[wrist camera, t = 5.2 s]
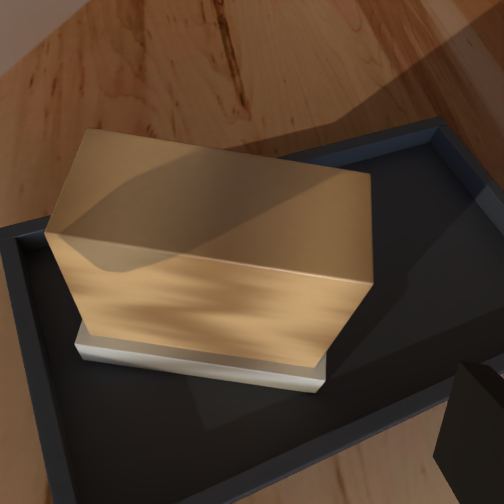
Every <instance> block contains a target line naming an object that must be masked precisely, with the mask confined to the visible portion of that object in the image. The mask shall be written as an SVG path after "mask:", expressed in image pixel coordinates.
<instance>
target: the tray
mask: <svg viewBox="0 0 504 504" xmlns="http://www.w3.org/2000/svg"><path fill="white" fill-rule="evenodd" d="M277 158H278V159H284V160H290V161H296V162H302V163H308V164H314V165H320V166H326V167H333V168H339V169H345V170H351V171H357V172H363V173H369V174H370V175H371V201H372V239H373V276H374V284H373V286H372V287H371V289H370V290H369V292H368V293H367V294H366V296H365V297H364V299H363V300H362V301H361V303H360V304H359V306H358V307H357V309H356V310H355V311H354V313H353V314H352V316H351V317H350V319H349V320H348V321H347V323H346V324H345V326H344V327H343V328H342V330H341V331H340V333H339V334H338V336H337V337H336V338H335V340H334V341H333V343H332V344H331V346H330V347H329V348H328V350H327V353H326V381H325V382H324V384H323V385H322V386H321V387H320V388H319V390H318V391H317V392H316V393H308V392H301V391H294V390H288V389H281V388H274V387H267V386H260V385H253V384H246V383H240V382H233V381H226V380H219V379H212V378H205V377H198V376H191V375H185V374H178V373H171V372H164V371H157V370H150V369H143V368H137V367H130V366H123V365H116V364H109V363H102V362H95V361H89V360H83V359H82V357H81V355H80V354H79V352H78V350H77V348H76V346H75V341H76V338H77V334H78V331H79V328H80V325H81V322H82V317H81V314H80V312H79V310H78V308H77V306H76V303H75V301H74V299H73V297H72V294H71V292H70V290H69V288H68V286H67V283H66V281H65V279H64V277H63V274H62V272H61V270H60V268H59V266H58V263H57V261H56V259H55V257H54V254H53V252H52V250H51V248H50V246H49V243H48V241H47V239H46V237H45V234H44V232H45V229H46V227H47V225H48V222H49V220H50V217H51V215H49V216H46V217H42V218H38V219H34V220H30V221H26V222H22V223H18V224H14V225H10V226H6V227H2V228H0V253H1V257H2V262H3V267H4V272H5V277H6V281H7V286H8V291H9V296H10V300H11V305H12V310H13V315H14V320H15V324H16V329H17V334H18V339H19V343H20V348H21V353H22V358H23V363H24V367H25V372H26V377H27V382H28V386H29V391H30V396H31V401H32V406H33V410H34V415H35V420H36V425H37V429H38V434H39V439H40V444H41V449H42V453H43V458H44V463H45V468H46V472H47V477H48V482H49V487H50V492H51V496H52V501H53V504H232V503H234V502H236V501H238V500H240V499H242V498H244V497H247V496H249V495H251V494H253V493H255V492H257V491H259V490H261V489H263V488H265V487H267V486H270V485H272V484H274V483H276V482H278V481H280V480H282V479H284V478H286V477H288V476H290V475H292V474H295V473H297V472H299V471H301V470H303V469H305V468H307V467H309V466H311V465H313V464H315V463H318V462H320V461H322V460H324V459H326V458H328V457H330V456H332V455H334V454H336V453H338V452H341V451H343V450H345V449H347V448H349V447H351V446H353V445H355V444H357V443H359V442H361V441H364V440H366V439H368V438H370V437H372V436H374V435H376V434H378V433H380V432H382V431H384V430H386V429H389V428H391V427H393V426H395V425H397V424H399V423H401V422H403V421H405V420H407V419H409V418H412V417H414V416H416V415H418V414H420V413H422V412H424V411H426V410H428V409H430V408H432V407H435V406H437V405H439V404H441V403H443V402H445V401H447V400H449V396H450V393H451V389H452V386H453V382H454V378H455V375H456V371H457V368H458V364H459V361H465V362H472V363H478V364H485V365H489V366H491V367H492V368H493V369H494V370H495V371H496V372H497V373H498V374H499V375H501V374H503V373H504V191H503V190H502V189H501V188H500V186H499V185H498V184H497V183H496V182H495V180H494V179H493V178H492V177H491V176H490V174H489V173H488V172H487V171H486V170H485V169H484V167H483V166H482V165H481V164H480V163H479V161H478V160H477V159H476V158H475V157H474V155H473V154H472V153H471V152H470V151H469V149H468V148H467V147H466V146H465V145H464V143H463V142H462V141H461V140H460V139H459V137H458V136H457V135H456V134H455V133H454V132H453V130H452V129H451V128H450V127H449V126H448V125H447V123H446V121H445V120H444V119H443V118H442V117H441V116H439V117H435V118H431V119H427V120H423V121H419V122H415V123H411V124H407V125H403V126H399V127H395V128H391V129H387V130H384V131H380V132H376V133H372V134H368V135H364V136H360V137H356V138H352V139H348V140H344V141H340V142H336V143H332V144H329V145H325V146H321V147H317V148H313V149H309V150H305V151H301V152H297V153H293V154H289V155H285V156H281V157H277Z"/></svg>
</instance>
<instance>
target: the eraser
mask: <svg viewBox="0 0 504 504" xmlns="http://www.w3.org/2000/svg"><path fill="white" fill-rule="evenodd" d="M44 234H45V237H46V239H47V241H48V243H49V246H50V248H51V250H52V252H53V254H54V257H55V259H56V261H57V263H58V266H59V268H60V270H61V272H62V274H63V277H64V279H65V281H66V283H67V286H68V288H69V290H70V292H71V294H72V297H73V299H74V301H75V303H76V306H77V308H78V310H79V312H80V314H81V317H82V322H81V325H80V328H79V331H78V334H77V338H76V341H75V346H76V348H77V350H78V352H79V354H80V355H81V357H82V359H83V360H89V361H95V362H102V363H109V364H116V365H123V366H130V367H137V368H143V369H150V370H157V371H164V372H171V373H178V374H185V375H191V376H198V377H205V378H212V379H219V380H226V381H233V382H240V383H246V384H253V385H260V386H267V387H274V388H281V389H288V390H294V391H301V392H308V393H316V392H317V391H318V390H319V388H320V387H321V386H322V385H323V384H324V382H325V381H326V353H327V350H328V348H329V347H330V346H331V344H332V343H333V341H334V340H335V338H336V337H337V336H338V334H339V333H340V331H341V330H342V328H343V327H344V326H345V324H346V323H347V321H348V320H349V319H350V317H351V316H352V314H353V313H354V311H355V310H356V309H357V307H358V306H359V304H360V303H361V301H362V300H363V299H364V297H365V296H366V294H367V293H368V292H369V290H370V289H371V287H372V286H373V284H374V276H373V239H372V201H371V175H370V174H369V173H363V172H357V171H351V170H345V169H339V168H333V167H326V166H320V165H314V164H308V163H302V162H296V161H290V160H284V159H278V158H272V157H266V156H259V155H253V154H247V153H241V152H235V151H229V150H223V149H217V148H211V147H205V146H199V145H193V144H186V143H180V142H174V141H168V140H162V139H156V138H150V137H144V136H138V135H132V134H126V133H119V132H113V131H107V130H101V129H95V128H87V130H86V133H85V135H84V138H83V140H82V142H81V145H80V147H79V150H78V152H77V155H76V157H75V159H74V162H73V164H72V167H71V169H70V171H69V174H68V176H67V179H66V181H65V183H64V186H63V188H62V191H61V193H60V196H59V198H58V200H57V203H56V205H55V208H54V210H53V212H52V215H51V217H50V220H49V222H48V225H47V227H46V229H45V232H44Z"/></svg>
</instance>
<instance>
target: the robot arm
mask: <svg viewBox="0 0 504 504" xmlns="http://www.w3.org/2000/svg"><path fill="white" fill-rule="evenodd" d="M433 458H434V460H435V461H436V463H437V465H438V467H439V468H440V470H441V472H442V474H443V475H444V477H445V479H446V481H447V482H448V484H449V486H450V487H451V489H452V491H453V493H454V494H455V496H456V498H457V500H458V501H459V503H460V504H504V379H503V378H502V377H501V376H500V375H499V374H498V373H497V372H496V371H495V370H494V369H493V368H492V367H491V366H489V365H485V364H478V363H472V362H465V361H459V364H458V368H457V371H456V375H455V378H454V382H453V386H452V389H451V393H450V396H449V400H448V403H447V407H446V411H445V414H444V418H443V421H442V425H441V428H440V432H439V436H438V439H437V443H436V446H435V450H434V453H433Z"/></svg>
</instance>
